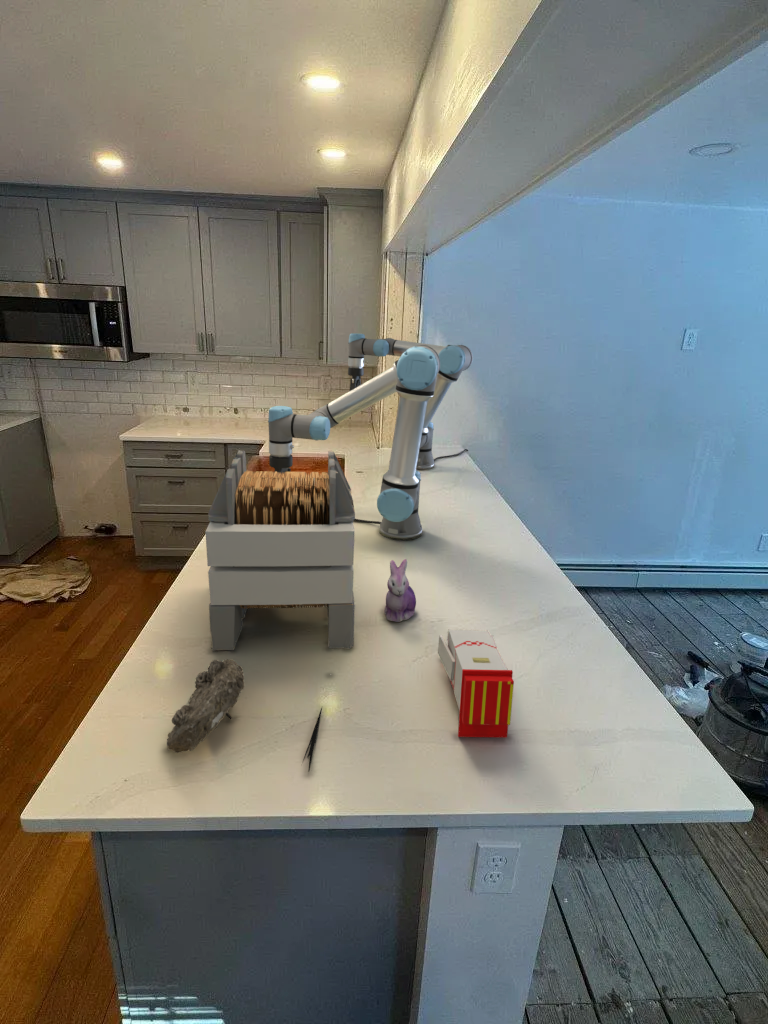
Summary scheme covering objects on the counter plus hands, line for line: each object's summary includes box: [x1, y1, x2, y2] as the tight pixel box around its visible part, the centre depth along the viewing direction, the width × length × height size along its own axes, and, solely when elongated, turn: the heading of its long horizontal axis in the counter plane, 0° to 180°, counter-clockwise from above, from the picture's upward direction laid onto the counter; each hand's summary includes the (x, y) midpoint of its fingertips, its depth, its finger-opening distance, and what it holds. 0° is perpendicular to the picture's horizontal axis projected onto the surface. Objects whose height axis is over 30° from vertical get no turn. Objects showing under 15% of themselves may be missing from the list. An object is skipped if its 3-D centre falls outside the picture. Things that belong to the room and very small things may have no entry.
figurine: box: [384, 558, 417, 623], centre depth 145 cm, size 9×10×15 cm
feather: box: [301, 673, 332, 771], centre depth 108 cm, size 2×28×2 cm
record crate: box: [204, 449, 356, 652], centre depth 138 cm, size 34×33×41 cm
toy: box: [437, 628, 515, 738], centre depth 117 cm, size 12×13×30 cm
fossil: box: [166, 658, 245, 754], centre depth 106 cm, size 22×10×15 cm
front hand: (281, 520), depth 193 cm, fingers closed on brick, 5 cm apart
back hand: (354, 411), depth 280 cm, fingers open, 13 cm apart
